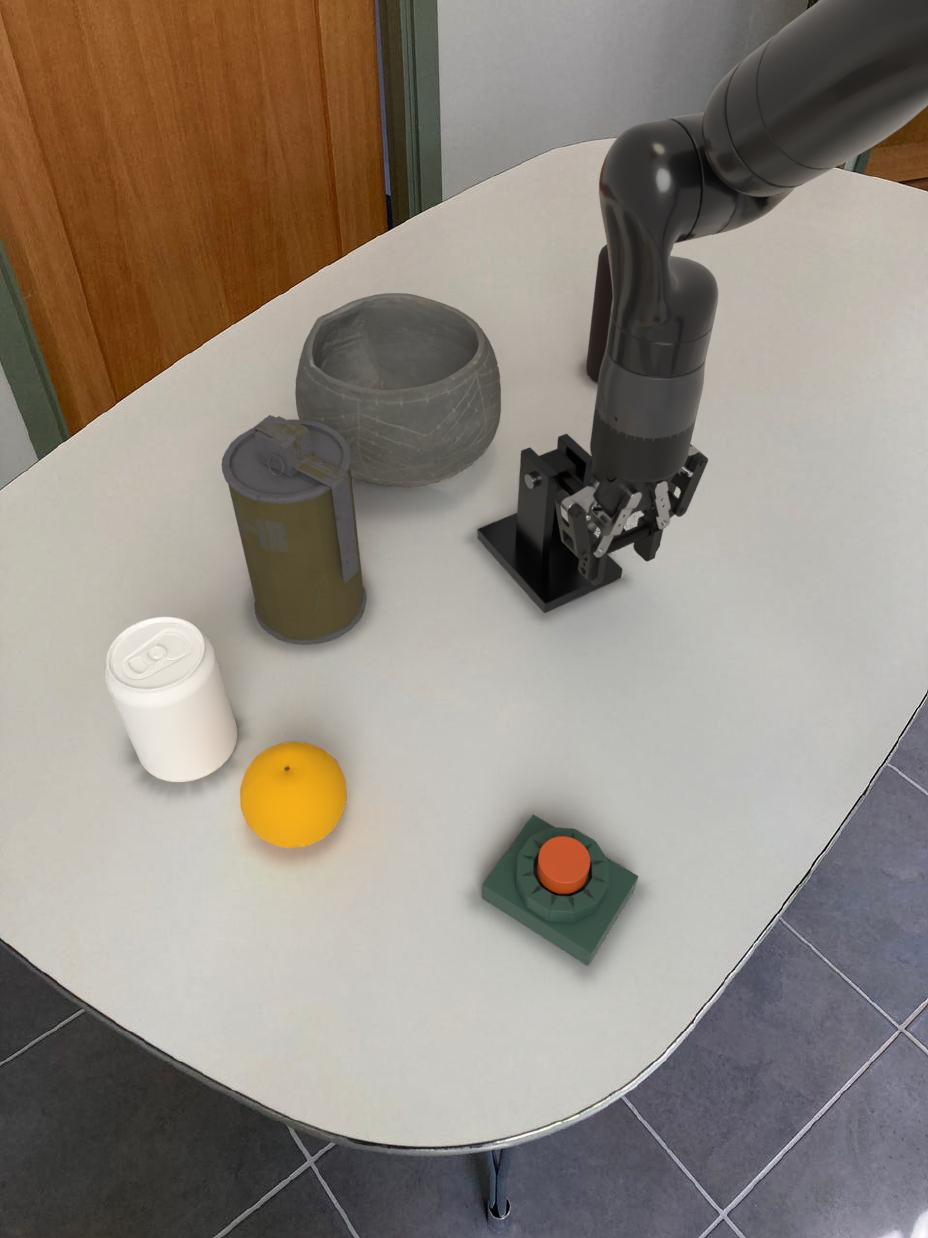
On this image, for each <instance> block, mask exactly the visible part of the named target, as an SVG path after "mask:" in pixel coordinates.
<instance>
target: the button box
mask: <svg viewBox="0 0 928 1238" xmlns="http://www.w3.org/2000/svg"><path fill="white" fill-rule="evenodd" d="M560 836H565V837H571V838H573V839H576V840H577V841H579V842H580V843H581V844H583V845H584V847H585V848H586V849H587V851H588V853H589V857H590V867H589V871H588V876H587V880H586V882H585V884H584V885H583V886H582V887H581V888H580V889H579V890H578V891H576V892H573V893H570V894H558V893H555V892H552V891H550V890H549V889H547V888H546V887H545V886H544V885H543V884H542V883H541V881H540V879H539V877H538V873H537V865H538V857H539V852H540V849H541V848H542V846H543V845H544V844H545V843H546V842H547V841H548V840H550V839H552V838H555V837H560ZM638 879H639V875H637V874H636V873H634V872H632V871H631V870H629V869H627V868H625V867H624V866H622V865H621V864H619V863H618V862H615V861H614V860H612V859H610V858H608V857H607V856H606V855H605V853H604V852H603V850H602V848H601V847H600V845H599V843H598V842H597V841H596V840H595V839H593V838H591V837H590V836H588V835H587V834H584V833H583V832H581V831H579V830H578V829H576V828H568V827H556V826H554V825H553V824H551V823H549V822H548V821H546V820H544V819H542V818H540V817H539V816H537V815H535V814H532V815H531V817H529V819H528V821H527V822H526V824H525V825H524V826H523V828H522V829H521V831H520V832H519V833H518V835H517V836H516V837H515V839H514V840H513V841H512V843H511V844H510V845H509V846H508V848H507V849H506V851H505V853H504V854H503V855H502V857H501V858H500V859H499V861H498V862H497V863H496V865H495V866H494V867H493V869H492V870H491V872H490V873H489V874H488V876H487V877H486V879H485V880H484V881H483V883H482V884H481V885H482V886H481V899H483V900H484V901H486V902H487V903H490V905H492V906H494V907H495V908H497V909H499V910H500V911H501V912H503V913H504V914H507V915H508V916H510V918H513V919H514V920H515V921H517V922H519V923H520V924H522V925H523V926H525V927H526V928H528V929H530V930H531V931H533V932H534V933H536V934H537V935H539V936H540V937H542V938H544V939H545V940H547V941H548V942H550V943H552V944H553V945H554V946H556V947H557V948H559V949H561V950H562V951H564V952H565V953H567V954H568V955H570V956H571V957H573V958H575V959H577V961H579V962H581V963H583V965H586V966H587V967H589V966H590V964H591V962H592V960H594V957H595V956H596V954H597V952H599V949H600V948H601V946H602V944H603V943H604V941H605V939H606V938H607V936H608V934H609V933H610V931H611V930H612V928H613V927H614V925H615V923H616V922H617V920H618V918H619V917H620V915H621V914H622V911H623V910H624V909H625V906H627V903H628V902H629V900H630V898H631V897H632V895H633V893H634V892H635V890H636V888H637V887H636V886H637V883H638Z"/></svg>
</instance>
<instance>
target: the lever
mask: <svg viewBox="0 0 928 1238" xmlns="http://www.w3.org/2000/svg"><path fill="white" fill-rule="evenodd" d="M539 456H540V457H541V458H542V459H543V460H544V461H545V462H546V463H547V464H548V465H549V466H550V467H551V468H552V469H553V470H554V471H555V472H556V473H557V474H558V478H557V488H556V492H558V491H561V490H564V491H566V492H567V493H568V494H569V495H570V496H572V495H574V494H575V493H577V492H579V491H580V490H582V489H584V487H583V486H582V485H581V484H580V483H579V482H578V481H577V480H576V479H575V471H576V465H575V464H574V463H573V462H572V461H571V460H570V459H569V458H568V457H567V456H566V455H565V454H564V453H563V452H562V451H561V450H560V449H559V448H558V449H557V448H555V449H552V450H550V451H548V452H545V453H543V454H540V455H539ZM603 511H604V512H605V513H606V514H607V515H608V516H609V517H610V518H611V519H612V518H613V517H612V516H610V515H609V514H608V513H607V512H606V511H605V510H604V509H603ZM650 534H651V530H650V527H649V526H648V525H647V524H646V523H643V524H640V525H638V526H637V525H636V526H634V527H631V528H629V529H625V527H624V528H623V530H622V532H621V534H620V535H614V537H613V539H612V541H611V543H610V545H609V547H608V549H607V551H606V553H607V554H608V555H610V554H613V553H614V552H616V551H619V550H621V549H623V548H626V547H628V546H630V545H632V544H634V542H637V541H639V540H641V539H643V538H646V537H648V536H650Z"/></svg>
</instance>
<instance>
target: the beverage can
mask: <svg viewBox="0 0 928 1238" xmlns="http://www.w3.org/2000/svg"><path fill="white" fill-rule="evenodd" d="M215 651H216V650H215V648H214V646H213V643H212V641H210V639H209V637H207V636H206V634H205V633H203V632H202V631H201V630H200V629H199V628H198V627H197V626H196V625H194V624H193V623H192V622H190V621H188V620H186V619H184V618H180V617H175V616H156V617H150V618H147V619H143V620H140V621H137V622H136V623H133V624H132V625H130V626H128V627H127V628H125V629H124V630H123V631H122V632H120V633H119V634H118V635H116V637H115V638H114V639H113V641H112V642H111V644H110V645H109V648H108V650H107V653H106V657H105V665H104V671H103V672H104V675H103V676H104V681H105V686H106V689H107V690H108V692H109V694H110V697H111V699H112V701H113V703H114V706H115V708H116V710H117V712H118V715H119V717H120V720H121V722H122V724H123V726H124V729H125V731H126V733H127V735H128V738H129V739H130V742H131V744H132V746H133V748H134V749H133V750H134V751H135V753H136V755H137V757H138V759H139V762H140V764H141V766H142V767H143V768H144V770H145V771H146V772H148V773H149V774H151V776H153V777H154V778H157V779H159V780H162V781H164V782H171V783H186V782H193V781H197V780H200V779H202V778H204V777H207V776H209V775H211V774H212V773H214V772H215V771H217V770H218V769H220V768H221V767H222V766H223V765H224V764H225V763H226V762H227V761H228V760H229V758H230V757H231V755H232V754H233V752H234V750H235V747H236V745H237V742H238V727H237V722H236V719H235V716H234V712H233V709H232V706H231V702H230V699H229V695H228V692H227V689H226V686H225V682H224V678H223V675H222V671H221V668H220V665H219V662H218V658H217V655H216V652H215Z"/></svg>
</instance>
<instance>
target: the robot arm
mask: <svg viewBox="0 0 928 1238" xmlns="http://www.w3.org/2000/svg"><path fill="white" fill-rule="evenodd" d="M927 107H928V0H818V1H816V3H814V4H813V5H812V6H811V7H809V8H807V9H806V10H805V11H804V12H802V13H801V14H800V15H798V16H797V17H796V18H795V19H793V20H792V21H791V22H789V23H788V24H786V25H785V26H784V27H782V28H781V29H780V30H779V31H778V32H777V33H775V34H774V35H773V36H772V37H770V38H769V39H768V40H766V41H765V42H764V43H762V44H761V45H759V46H758V47H757V48H756V49H755V50H754V51H752V52H751V53H750V54H748V55H747V56H746V57H744V58H743V59H742V60H740V61H739V63H737V64H736V65H735V66H734V67H732V68H731V70H729V72H727V74H726V75H724V76H723V78H722V79H721V80H720V81H719V82H718V84H717V85H716V87H715V88H714V89H713V91H712V93H711V94H710V97H709V98H708V100H707V103H706V105H705V108H704V110H702V111H700V112H694V113H690V114H684V115H683V114H682V115H677V116H671V117H666V118H661V119H654V120H650V121H645V122H640V123H637V124H634V125H632V126H629V127H628V128H627V129H625V130H623V131H622V132H621V133H620V134H619V135H618V136H617V137H616V139H614V141H613V143H612V144H611V145H610V147H609V149H608V150H607V153H606V155H605V157H604V160H603V162H602V165H601V169H600V172H599V180H598V197H599V206H600V212H601V219H602V223H603V228H604V229H603V230H604V234H605V241H606V244H607V247H608V256H609V264H610V272H611V280H612V291H613V300H612V307H611V315H610V322H609V330H608V337H607V345H606V350H605V354H604V357H603V361H602V364H601V368H600V373H599V379H598V383H597V388H596V394H595V395H596V396H595V403H594V412H593V418H592V427H591V434H590V441H589V442H590V443H589V450H590V455H591V456H592V461H593V469H592V472H591V474H590V476H589V477H588V479H587V482H586V487H585V488H584V489H582V490H580V491H579V492H577V493H575V494H574V495H572V496H570V495H569V494H568V493H567V492H566V491H562V492H560V493H559V494H558V495H557V496H556V498H555V505H556V511H557V517H558V523H559V529H560V536H561V541H562V542H563V543H564V544H565V545H566V546H567V547H568V548H569V549H570V550H571V551H572V552H573V553H574V554H575V555H576V556H577V557H578V558H579V565H578V570H579V572H580V573H581V574H582V575H583V576H584V577H585V578H586V579H587V580H588V582H591V583H592V584H593V585H597V584H599V583H601V582H603V577H604V570H605V564H606V558H607V553H606V551H607V549H608V547H609V545H610V543H611V541H612V539H613V537H614V535H620V534H621V532H622V530H623V528H624V529H625V527H626V524H627V522H628V520H629V517H631V516H632V515H634V514H636V513H638V512H641V514H643V515H641V516H639V517H638V518H637V524H636V526H638V525H640V524H643V523H646V524H647V525H648V526H649V527H650V530H651V534H650V536H648V537H646V538H643V539H641V540H639V541H637V542H634V543H633V545H632V547H633V550H634V551H635V553H636V554H637V555H638V556H639V557H641V559H643V560H644V561H645V562H647V563H648V562H651V561H652V560H654V559H655V558H656V556H657V552H658V551H659V549H660V546H661V542H662V537H663V533H664V529H666V528H667V527H668V526H669V525H670V523H671V518H673V517H674V516H676V517H678V518H679V517H682V516H684V515H685V514H686V513H687V512H688V510H689V507H690V505H691V502H692V501H693V497H694V495H695V493H696V491H697V488H698V486H699V483H700V481H701V478H702V476H703V475H704V472H705V470H706V467H707V465H708V462H709V458H708V457H707V456H706V455H705V454H704V453H702V451H700V450H699V449H698V448H697V447H695V446H694V445H692V443H691V442H692V438H693V434H694V430H695V425H696V420H697V417H698V411H699V407H700V403H701V399H702V395H703V390H704V384H705V370H706V369H705V368H706V367H705V366H706V359H707V355H708V351H709V347H710V342H711V337H712V333H713V328H714V323H715V320H716V319H715V318H716V313H717V308H718V303H719V286H718V282H717V279H716V277H715V275H714V274H713V272H711V270H710V269H708V267H706V266H705V265H703V264H702V263H700V262H697V261H695V260H693V259H690V258H686V257H681V256H675V255H671V254H672V250H673V248H674V245H675V244H678V243H683V242H687V241H692V240H696V239H700V238H704V237H708V236H713V235H718V234H722V233H726V232H729V231H734V230H736V229H739V228H741V227H744V226H747V225H749V224H750V223H753V222H755V221H756V220H759V219H761V218H763V217H764V216H766V215H767V214H768V213H771V212H772V210H774V209H775V208H776V207H777V206H778V205H779V204H780V203H781V202H783V201H784V200H785V199H786V198H787V197H788V196H789V195H790V194H791V193H793V191H794V190H795V189H796V188H798V187H800V186H802V185H804V184H807V183H808V182H810V181H812V180H815V179H816V178H818V177H819V176H822V175H824V174H826V173H827V172H829V171H831V170H833V169H835V168H838V167H839V166H841V165H843V164H845V163H847V162H849V161H850V160H853V159H854V158H856V157H857V156H859V155H861V154H863V153H864V152H866V151H868V150H869V149H872V148H873V147H875V146H876V145H878V144H880V143H881V142H883V141H884V140H886V139H887V138H889V137H890V136H893V134H894V133H896V132H897V131H899V130H900V129H902V128H903V127H904V126H905V125H907V124H908V123H909V122H910V121H912V120H913V119H914V118H915V117H916V116H917V115H919V114H920V113H921V112H922V111H924V110H925V109H926V108H927ZM677 489H679V491H680V492H679V495H678V496H677V495H676V494H675V492H676V490H677ZM603 509H604V510H605V511H606V512H607V513H608V514H609V515H610V516H612V517H613V518H612V519H611V518H610V517H609V516H608V515H607V514H606V513H605V512H604V511H603ZM597 529H598V530H599V534H598V536H597V535H596V534H595V533H596V531H597Z"/></svg>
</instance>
